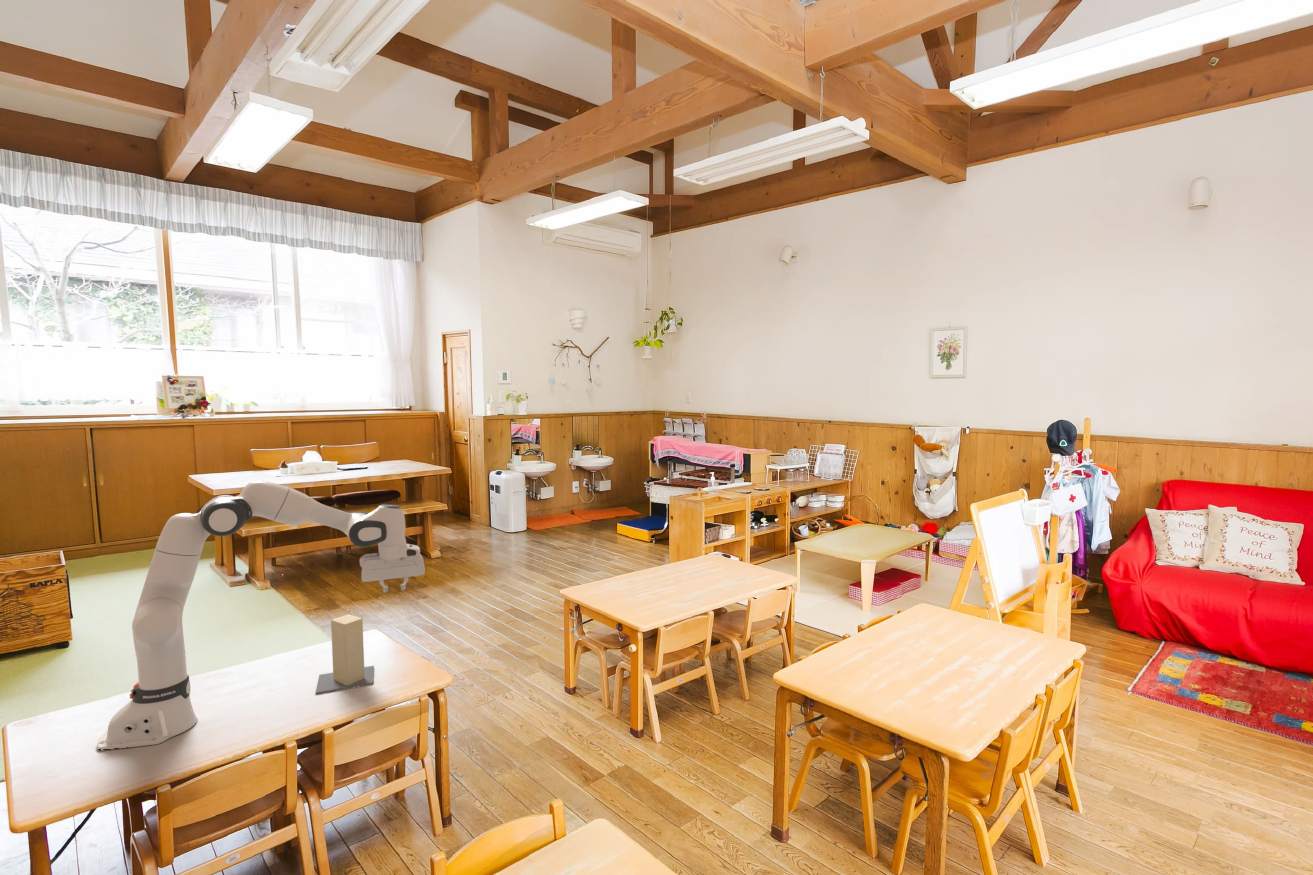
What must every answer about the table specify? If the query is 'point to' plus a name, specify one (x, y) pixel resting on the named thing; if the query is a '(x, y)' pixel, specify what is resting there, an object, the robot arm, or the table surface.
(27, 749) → the table surface
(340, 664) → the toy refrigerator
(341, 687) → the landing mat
